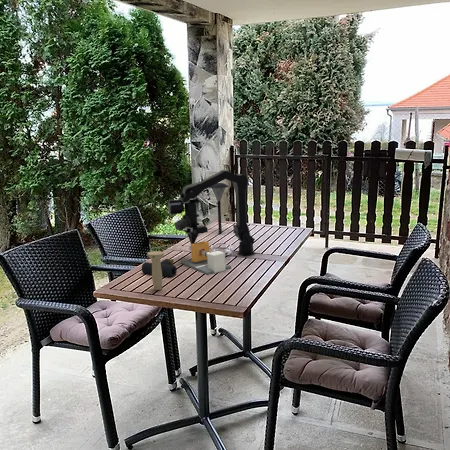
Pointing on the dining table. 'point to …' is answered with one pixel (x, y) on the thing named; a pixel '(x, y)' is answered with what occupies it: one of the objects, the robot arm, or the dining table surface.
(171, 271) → the pipe connector
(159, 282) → the handle
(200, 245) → the collar
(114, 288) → the dining table surface
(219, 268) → the block
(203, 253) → the pipe
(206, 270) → the mat
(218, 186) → the solar garden light
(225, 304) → the dining table surface
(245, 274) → the dining table surface
